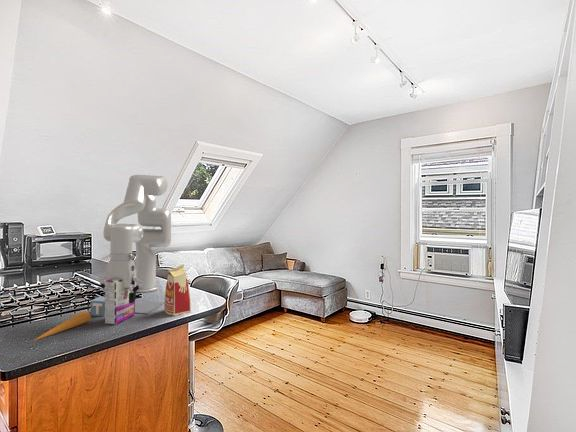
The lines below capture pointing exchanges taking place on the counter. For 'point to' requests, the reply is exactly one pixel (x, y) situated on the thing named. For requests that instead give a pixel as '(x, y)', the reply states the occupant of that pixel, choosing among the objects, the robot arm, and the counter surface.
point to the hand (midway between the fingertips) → (120, 301)
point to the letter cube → (98, 306)
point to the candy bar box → (117, 302)
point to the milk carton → (177, 292)
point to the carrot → (68, 324)
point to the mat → (147, 307)
